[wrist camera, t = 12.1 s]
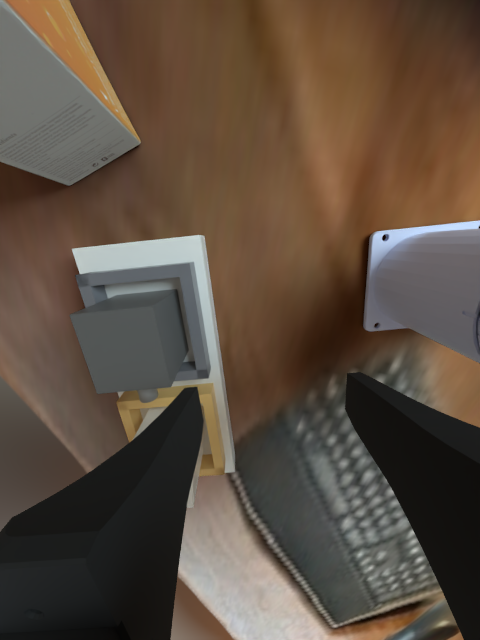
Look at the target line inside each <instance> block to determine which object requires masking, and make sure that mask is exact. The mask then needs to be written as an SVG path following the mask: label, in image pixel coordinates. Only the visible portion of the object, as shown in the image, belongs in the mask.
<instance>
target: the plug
mask: <svg viewBox="0 0 480 640" xmlns="http://www.w3.org/2000/svg"><path fill="white" fill-rule="evenodd" d="M167 407H168V406H165V407H153V408H150V409H149V411H148V412H147V414H146V416H145V418H144V420H143V422H142V423H141V425H140V427H139V429H138V431H137V433H136V434H135V436H134V438H136V437H137V436H138V435H139V434H140V433H141V432H142V431H143V430H145V429H146V428H147V427H148V426H149V425H150V424H151V423H152V422H153V421H154V420H155V419H156V418H157V417H158V416H159V415H160V414H161V413H162V412H163V411H164V410H165V409H166V408H167ZM201 409H202V414H203V420H204V408H203V406H201ZM134 438H133V439H134ZM203 446H204V423H203V432H202V441H201V445H200V450H199V454H198V458H197V463H196V467H195V471H194V475H193V479H192V484H191V488H190V492H189V497H188V502H187V508H193V507H194V501H195V495H196V490H197V484H198V478H199V473H200V467H201V461H202V455H203Z"/></svg>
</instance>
